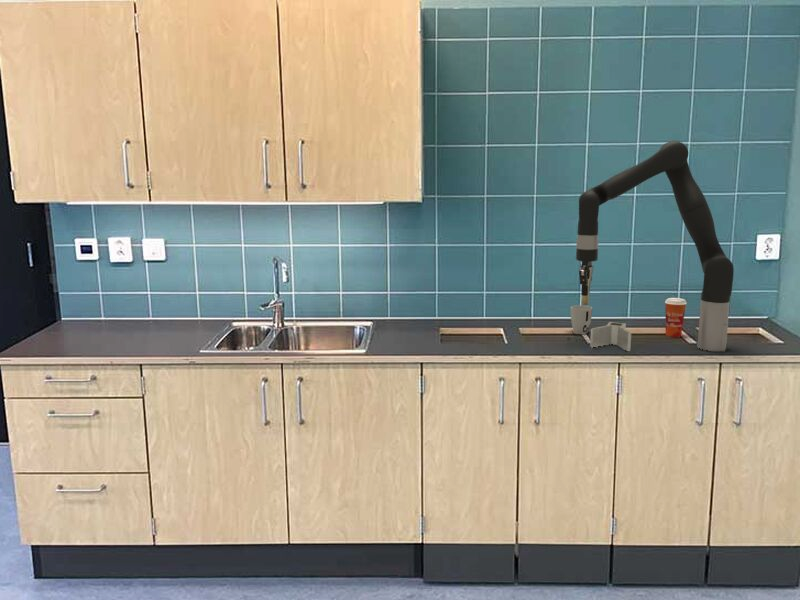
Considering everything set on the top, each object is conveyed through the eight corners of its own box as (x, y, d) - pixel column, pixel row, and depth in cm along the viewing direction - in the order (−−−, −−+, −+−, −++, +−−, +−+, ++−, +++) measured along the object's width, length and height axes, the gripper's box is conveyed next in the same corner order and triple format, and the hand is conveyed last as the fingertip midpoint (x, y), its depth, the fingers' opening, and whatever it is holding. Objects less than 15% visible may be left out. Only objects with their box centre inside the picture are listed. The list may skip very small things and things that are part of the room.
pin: (590, 303, 263) (592, 268, 261) (588, 305, 260) (590, 269, 258) (581, 303, 264) (582, 268, 262) (579, 304, 261) (580, 269, 259)
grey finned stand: (636, 343, 262) (637, 324, 261) (629, 352, 250) (631, 332, 248) (597, 339, 268) (598, 320, 267) (589, 348, 256) (590, 328, 254)
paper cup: (661, 336, 272) (663, 300, 269) (664, 332, 279) (666, 296, 276) (683, 338, 268) (685, 302, 266) (685, 334, 275) (688, 298, 273)
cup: (586, 336, 273) (587, 310, 272) (566, 333, 278) (567, 307, 276) (594, 332, 280) (595, 306, 278) (574, 329, 285) (575, 304, 283)
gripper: (593, 249, 251) (592, 298, 254) (601, 245, 263) (599, 292, 266) (572, 249, 254) (570, 297, 257) (580, 244, 266) (579, 291, 269)
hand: (585, 294), depth 262 cm, fingers closed on pin, 2 cm apart
